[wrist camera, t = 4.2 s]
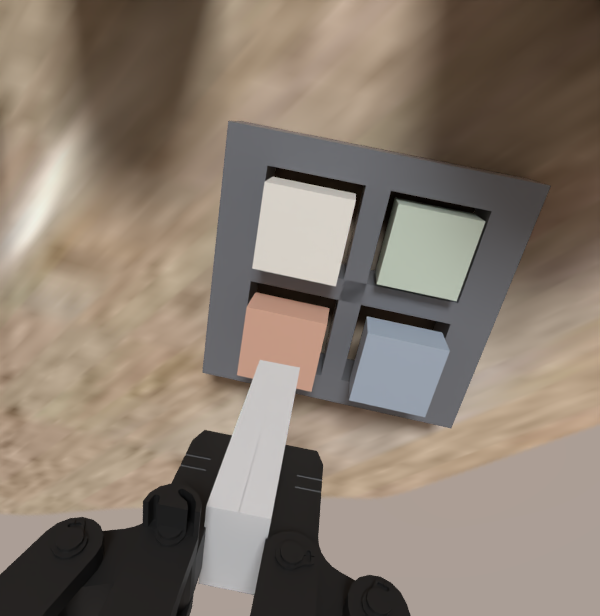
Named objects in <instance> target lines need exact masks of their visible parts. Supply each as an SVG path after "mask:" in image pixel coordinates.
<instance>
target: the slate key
mask: <svg viewBox="0 0 600 616" xmlns="http://www.w3.org/2000/svg"><path fill="white" fill-rule="evenodd" d="M449 352H450V350H449V348H448V345H447V343H446V340H445V338H444V336H443V333H442V332H437V331H433V330H428V329H424V328H419V327H414V326H410V325H405V324H400V323H396V322H391V321H387V320H382V319H377V318H373V317H368V316H367V317H366V321H365V325H364V328H363V332H362V336H361V339H360V343H359V347H358V350H357V354H356V358H355V361H354V365H353V369H352V372H351V376H350V383H349V400H350V401H354V402H359V403H363V404H368V405H372V406H377V407H381V408H386V409H390V410H395V411H399V412H404V413H408V414H413V415H417V416H422V417H425V416H426V413H427V411H428V408H429V405H430V403H431V400H432V397H433V395H434V392H435V389H436V387H437V384H438V381H439V379H440V376H441V373H442V371H443V368H444V365H445V363H446V360H447V357H448V355H449Z"/></svg>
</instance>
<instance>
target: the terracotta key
mask: <svg viewBox="0 0 600 616" xmlns="http://www.w3.org/2000/svg"><path fill="white" fill-rule="evenodd" d="M328 315H329V308H326V307H322V306H317V305H312V304H308V303H303V302H299V301H294V300H289V299H285V298H280V297H275V296H271V295H266V294H261V293H257V292H255V294H254V296H253V297H252V299H251V301H250V302H249V304H248V306H247V308H246V315H245V322H244V329H243V336H242V343H241V350H240V357H239V364H238V371H237V375H238V376H243V377H247V378H252V379H253V377H254V374H255V372H256V369H257V366H258V364H259V361H260V360H263V361H269V362H274V363H279V364H284V365H289V366H295V367H300V371H299V376H298V381H297V387H296V389H301V390H305V391H310V392H312V387H313V383H314V379H315V374H316V370H317V366H318V361H319V357H320V353H321V348H322V344H323V340H324V336H325V331H326V327H327V322H328Z"/></svg>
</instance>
